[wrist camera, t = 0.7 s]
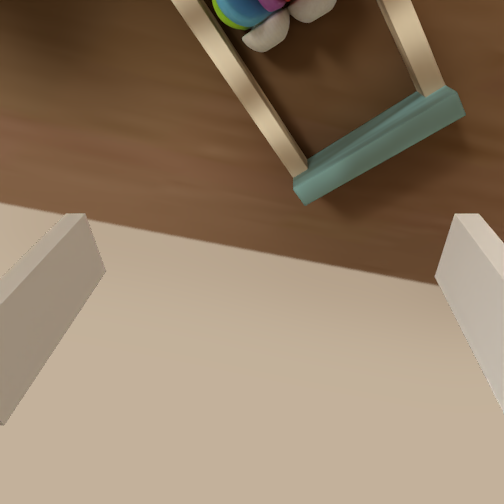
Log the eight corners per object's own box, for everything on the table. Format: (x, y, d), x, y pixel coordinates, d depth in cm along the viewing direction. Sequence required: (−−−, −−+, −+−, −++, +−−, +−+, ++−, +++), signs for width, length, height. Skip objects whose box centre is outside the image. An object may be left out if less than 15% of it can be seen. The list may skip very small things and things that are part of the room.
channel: (164, -23, 29) (142, -27, 24) (323, -190, 23) (329, -231, 19) (303, 183, 37) (304, 206, 33) (444, 100, 32) (466, 114, 27)
